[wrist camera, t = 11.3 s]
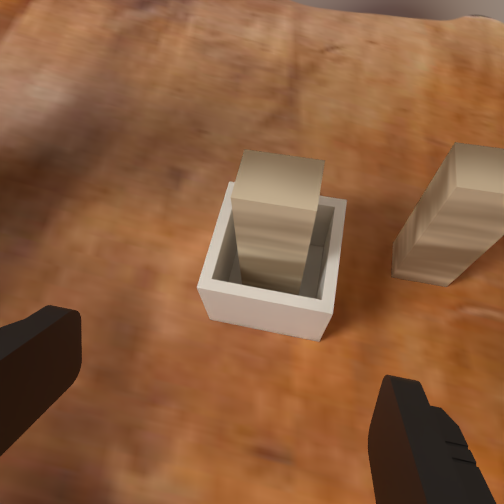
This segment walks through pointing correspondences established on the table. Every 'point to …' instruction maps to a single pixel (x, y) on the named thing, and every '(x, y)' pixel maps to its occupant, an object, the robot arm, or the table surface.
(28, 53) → the table surface
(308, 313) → the open square box
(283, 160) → the tall square pillar
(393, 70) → the table surface
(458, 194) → the beige rectangular block
